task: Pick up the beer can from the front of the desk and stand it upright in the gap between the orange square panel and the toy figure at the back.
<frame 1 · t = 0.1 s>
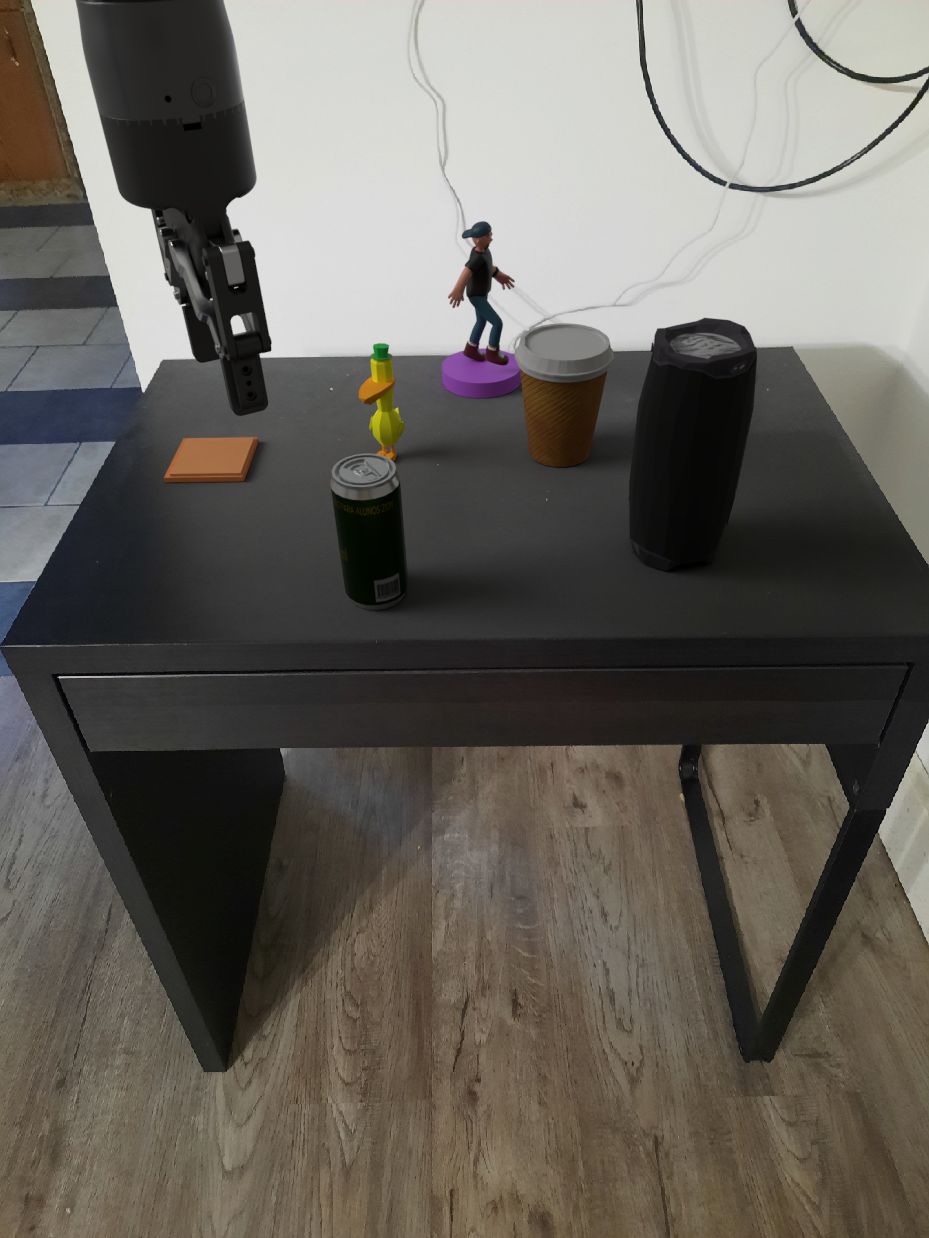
hand: (230, 383, 58), 22 cm above the table, tool pointing down, fingers open, 8 cm apart
figurine: (481, 381, 107), on the table
beer can: (377, 594, 77), on the table
portable speaker: (672, 549, 81), on the table
orange square panel: (213, 461, 94), on the table
toy figure: (385, 460, 93), on the table
disposable coffee cup: (559, 453, 94), on the table
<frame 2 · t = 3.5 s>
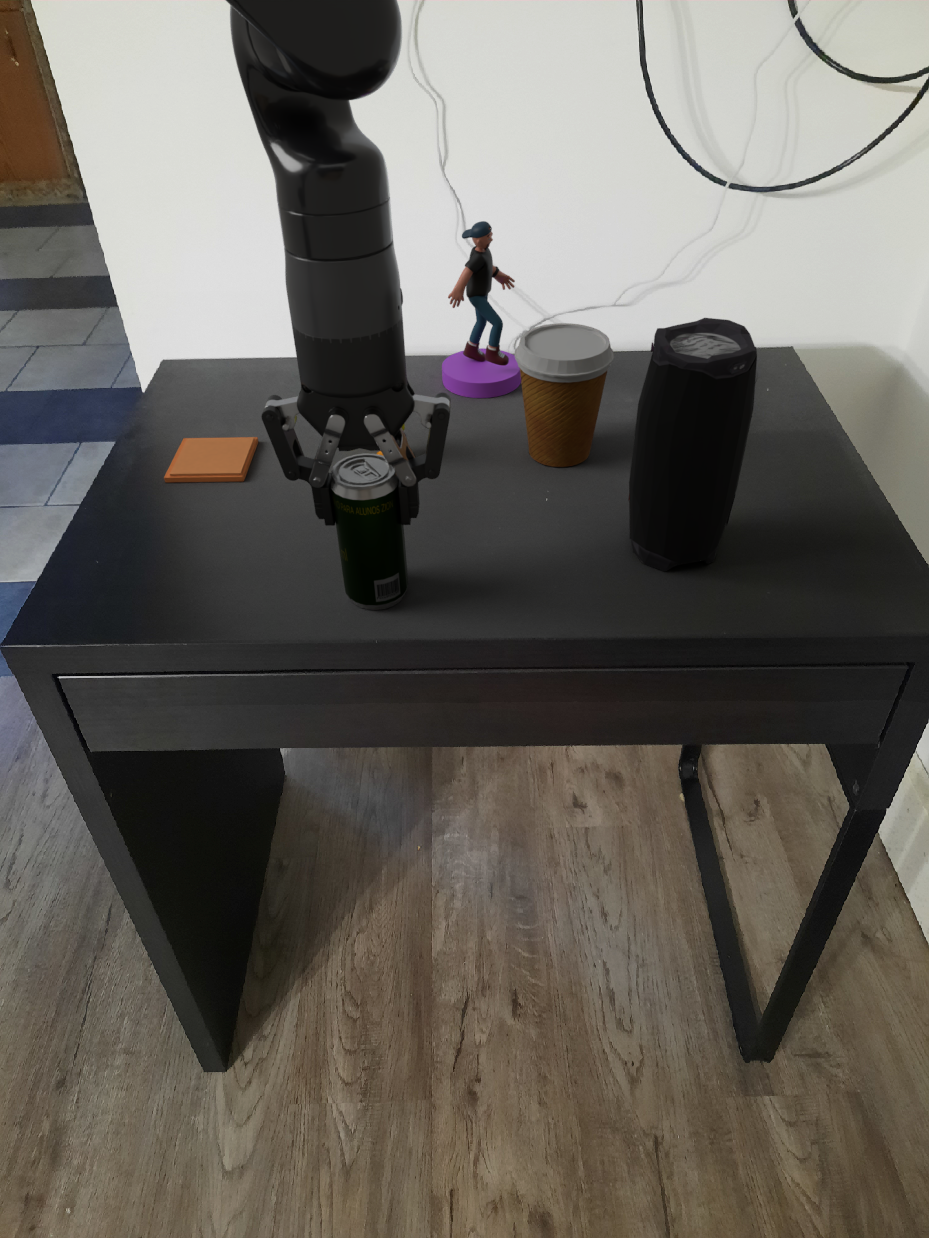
hand: (369, 519, 72), 7 cm above the table, tool pointing down, fingers closed on beer can, 5 cm apart
beer can: (377, 594, 77), on the table, touching gripper
everything else where it was.
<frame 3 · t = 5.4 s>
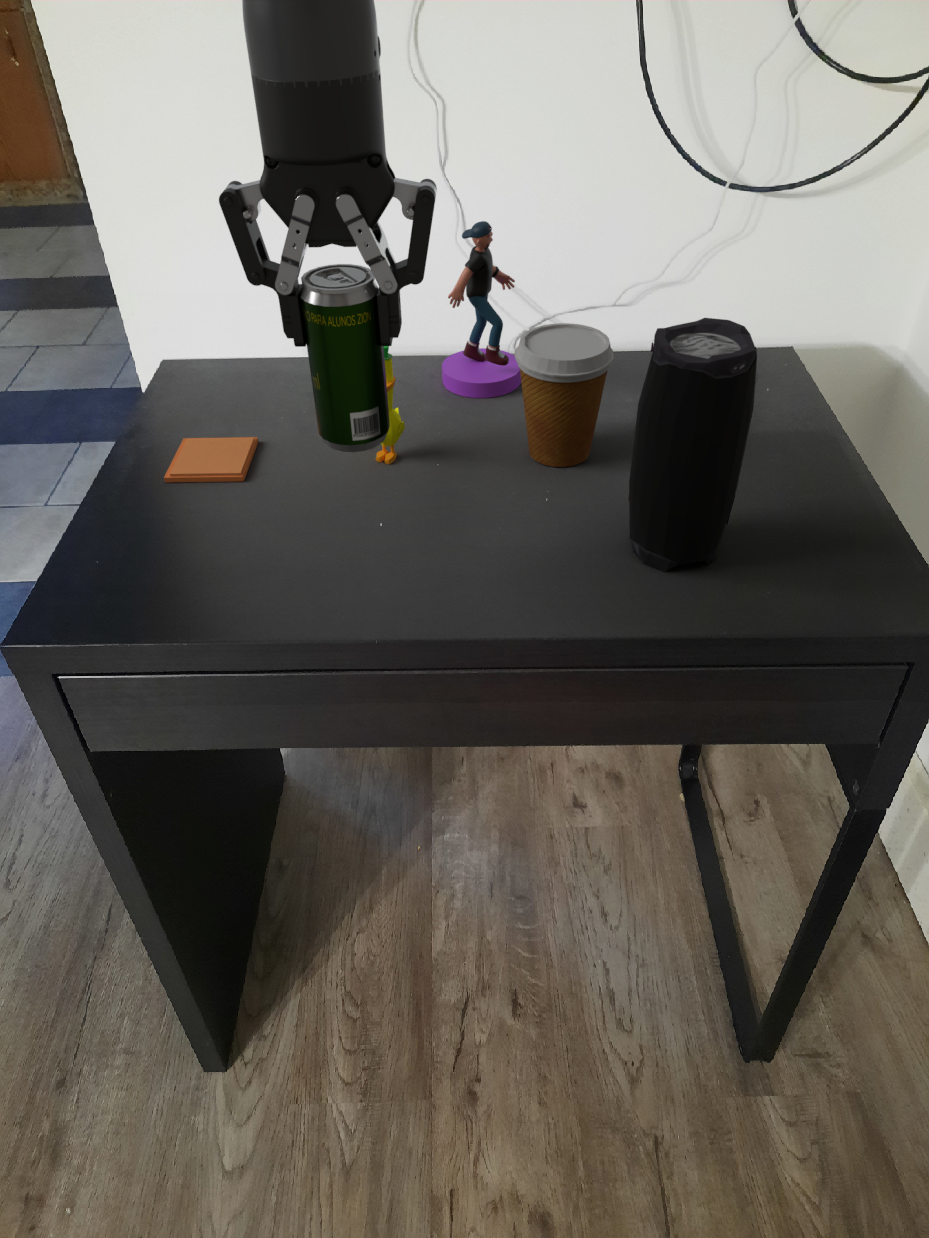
hand: (345, 341, 63), 22 cm above the table, tool pointing down, fingers closed on beer can, 5 cm apart
beer can: (355, 438, 68), point 14 cm above the table, touching gripper
everything else where it was.
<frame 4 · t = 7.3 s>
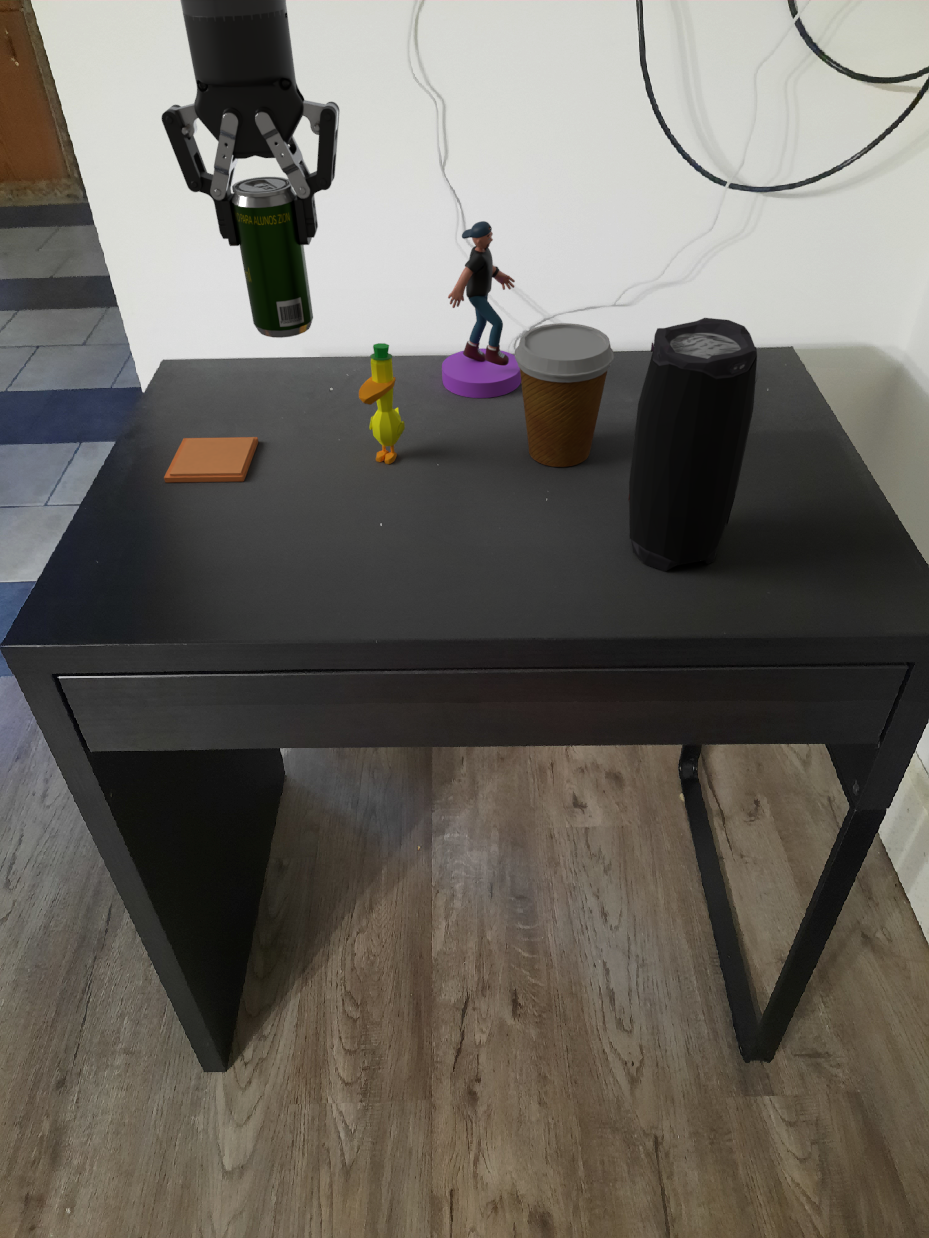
hand: (271, 242, 77), 23 cm above the table, tool pointing down, fingers closed on beer can, 5 cm apart
beer can: (284, 329, 82), point 15 cm above the table, touching gripper
everything else where it was.
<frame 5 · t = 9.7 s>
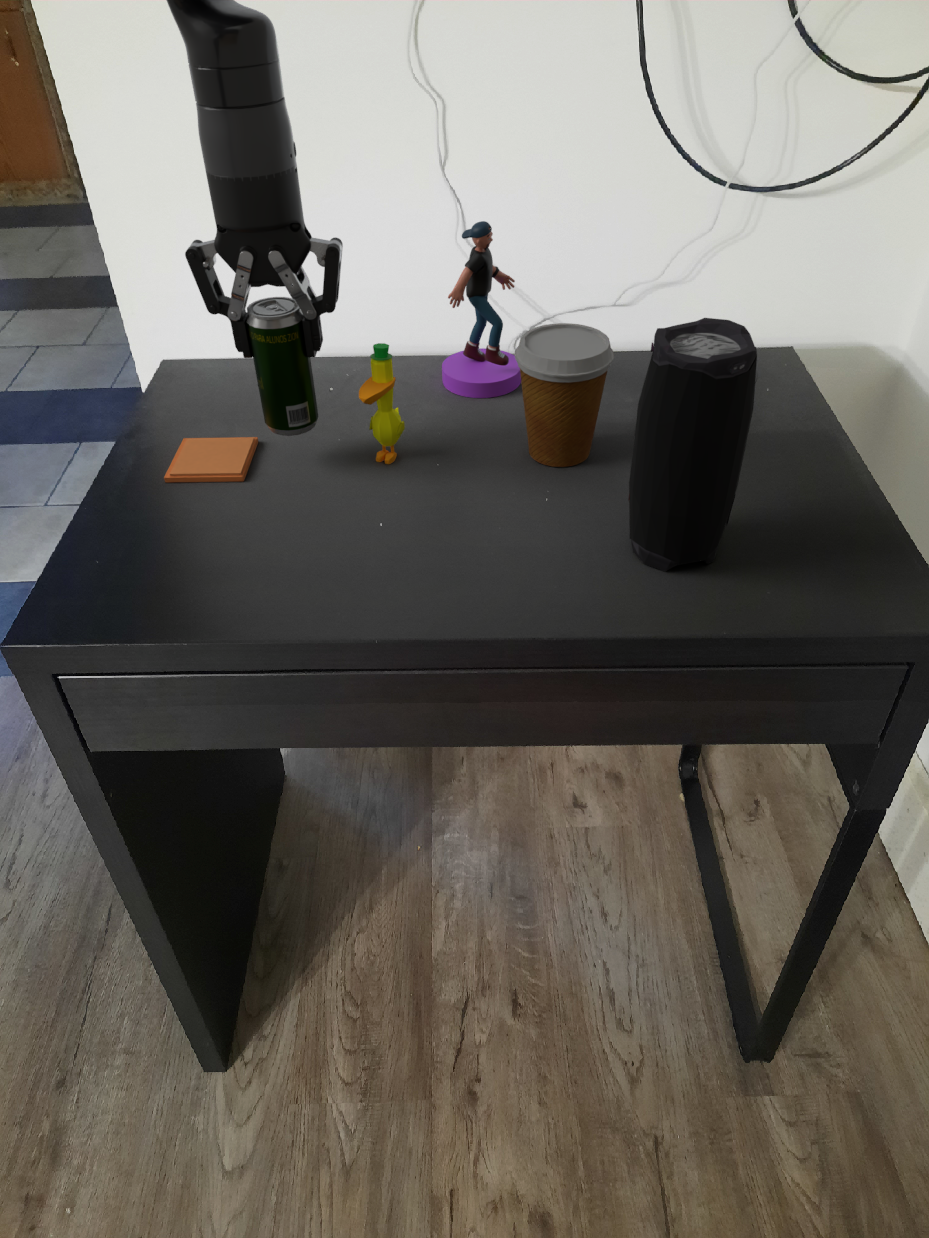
hand: (281, 353, 86), 12 cm above the table, tool pointing down, fingers closed on beer can, 5 cm apart
beer can: (292, 426, 91), point 4 cm above the table, touching gripper
everything else where it was.
when the fingers open (7 cm above the table, at t = 11.2 s): beer can stays where it is, on the table.
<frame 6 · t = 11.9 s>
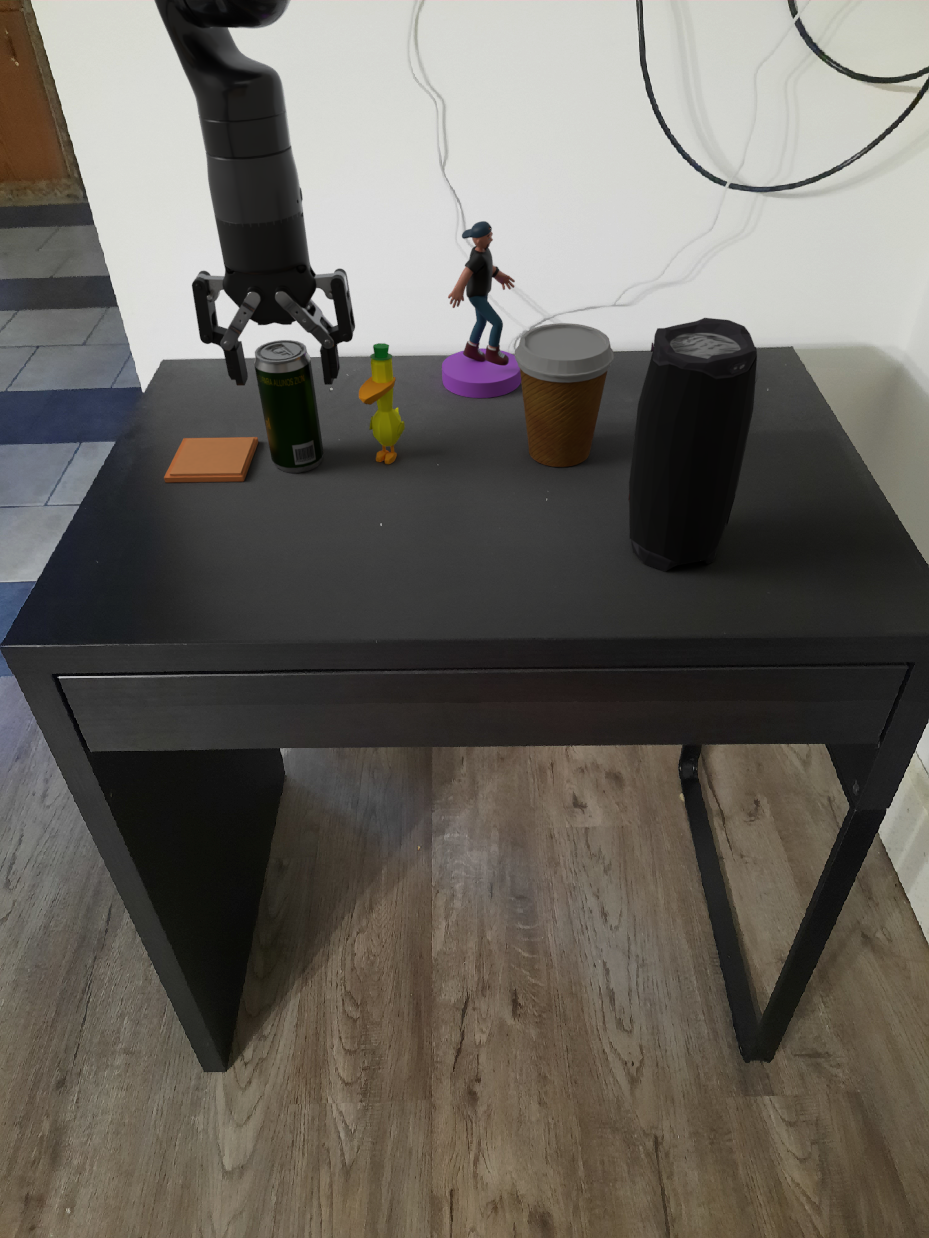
hand: (286, 381, 88), 9 cm above the table, tool pointing down, fingers open, 8 cm apart
beer can: (298, 462, 94), on the table
everything else where it was.
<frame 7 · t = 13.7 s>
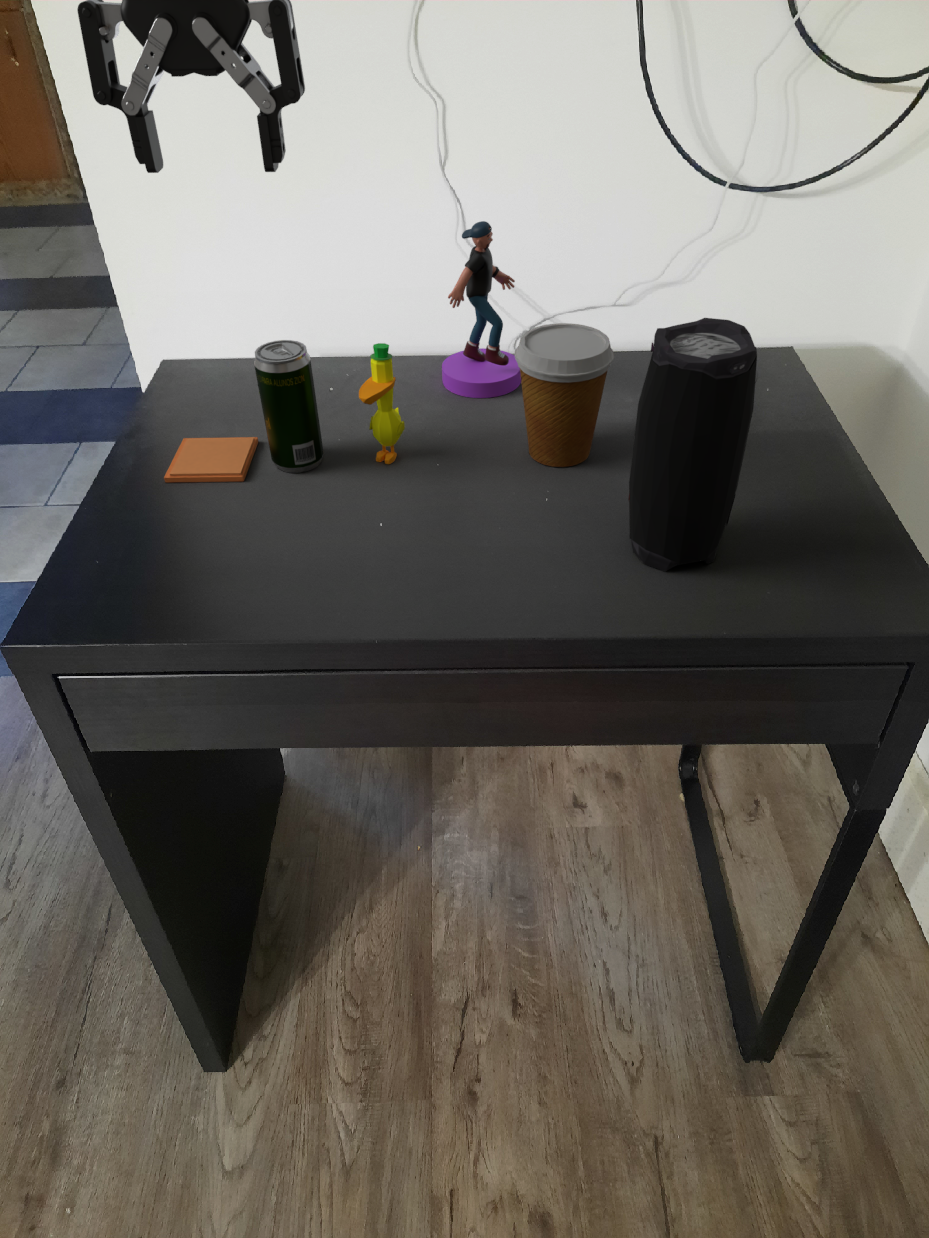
hand: (214, 170, 66), 30 cm above the table, tool pointing down, fingers open, 8 cm apart
nothing on the table moved.
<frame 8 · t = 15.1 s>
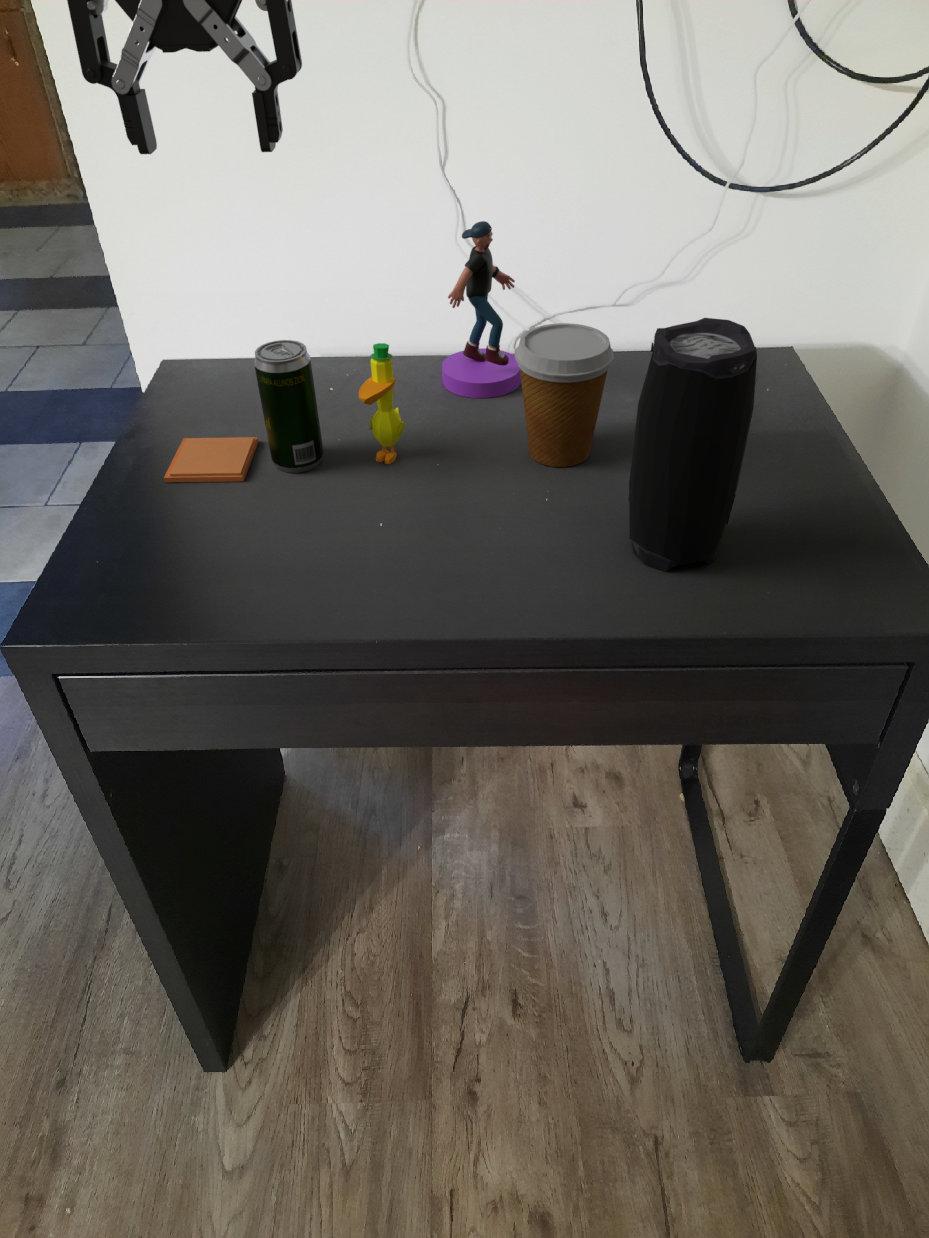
hand: (209, 151, 64), 32 cm above the table, tool pointing down, fingers open, 8 cm apart
nothing on the table moved.
at the end: beer can 0.1 cm from the target spot on the table beside the orange square panel, on the table; beer can 0.1 cm from the target spot on the table beside the toy figure, on the table; beer can tilted 0° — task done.
